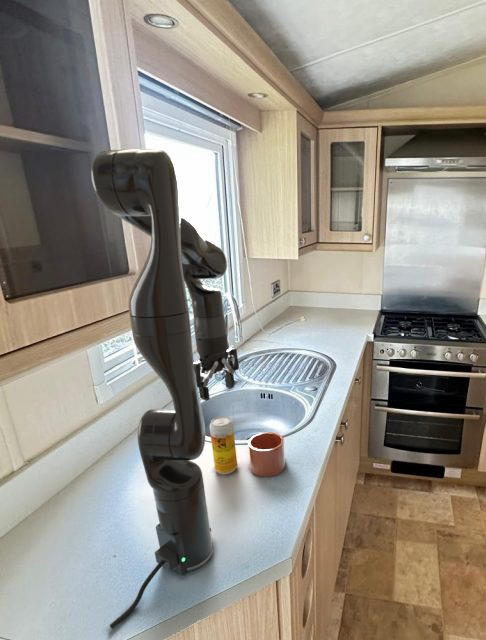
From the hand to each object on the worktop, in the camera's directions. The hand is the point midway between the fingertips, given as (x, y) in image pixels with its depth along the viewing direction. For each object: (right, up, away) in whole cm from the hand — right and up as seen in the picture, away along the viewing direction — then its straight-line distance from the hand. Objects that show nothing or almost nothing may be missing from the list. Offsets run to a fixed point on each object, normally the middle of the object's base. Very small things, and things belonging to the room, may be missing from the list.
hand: (218, 393), depth 104 cm
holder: (+12, -21, +9) cm, 26 cm away
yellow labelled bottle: (0, -22, +8) cm, 23 cm away
